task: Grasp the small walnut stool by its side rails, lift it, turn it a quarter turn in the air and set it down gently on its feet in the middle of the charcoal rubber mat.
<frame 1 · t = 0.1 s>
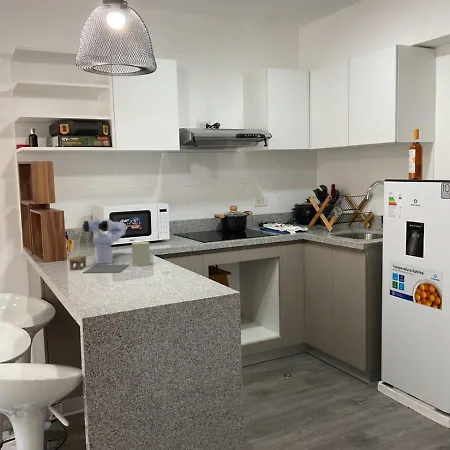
hand: (91, 226, 256), 22 cm above the countertop, tool horizontal, fingers open, 7 cm apart
mat: (107, 269, 257), on the countertop
can: (141, 264, 268), on the countertop
stool: (78, 268, 262), on the countertop
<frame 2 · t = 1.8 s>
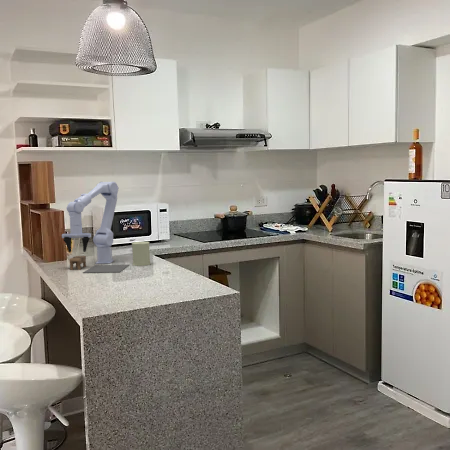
hand: (77, 251, 261), 9 cm above the countertop, tool pointing down, fingers open, 7 cm apart
nothing on the countertop moved.
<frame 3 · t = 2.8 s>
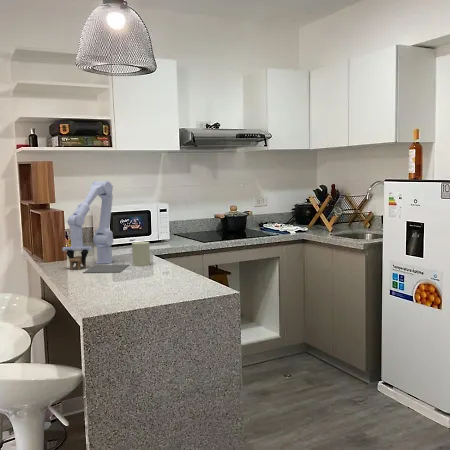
hand: (78, 264, 261), 2 cm above the countertop, tool pointing down, fingers closed on stool, 5 cm apart
stool: (78, 268, 262), on the countertop, touching gripper
everything else where it was.
when the fingers open (3 cm above the countertop, at t = 8.4 s): stool stays where it is, resting on mat.
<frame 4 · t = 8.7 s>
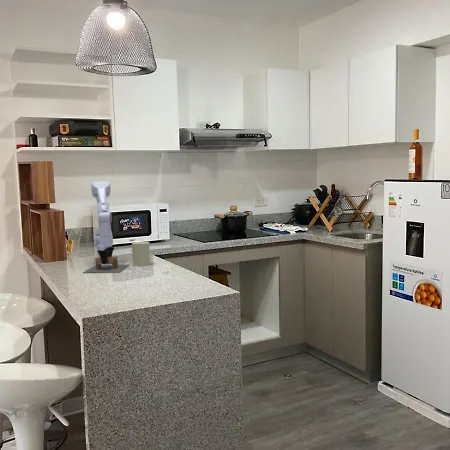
hand: (106, 262, 257), 3 cm above the countertop, tool pointing down, fingers open, 7 cm apart
stool: (106, 268, 257), resting on mat
everything else where it was.
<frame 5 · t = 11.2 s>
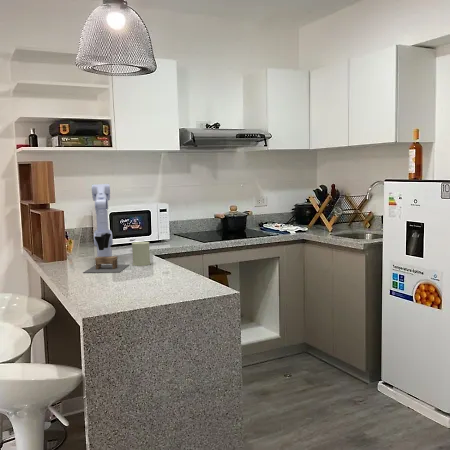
hand: (103, 249, 262), 9 cm above the countertop, tool pointing down, fingers open, 7 cm apart
nothing on the countertop moved.
at the end: stool inside the target area on the mat (0.1 cm from its centre), point 0.4 cm above the mat's base; stool tilted 0°; the gripper is holding nothing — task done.
